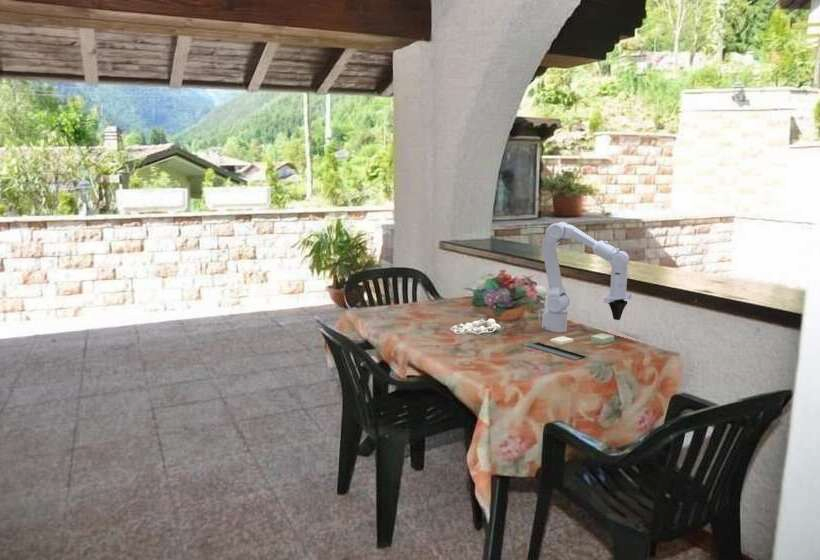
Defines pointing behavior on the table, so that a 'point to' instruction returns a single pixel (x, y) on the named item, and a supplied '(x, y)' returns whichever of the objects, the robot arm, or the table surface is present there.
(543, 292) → the lollipop
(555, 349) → the mat
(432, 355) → the table surface
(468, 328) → the tangled rod sculpture
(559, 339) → the tile cream
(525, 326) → the table surface
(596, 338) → the tile sage
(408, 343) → the table surface
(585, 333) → the board
